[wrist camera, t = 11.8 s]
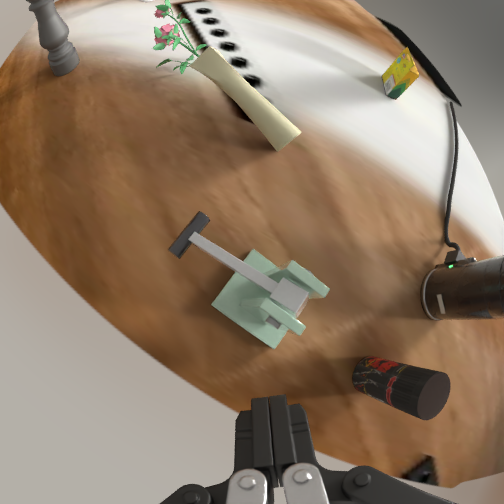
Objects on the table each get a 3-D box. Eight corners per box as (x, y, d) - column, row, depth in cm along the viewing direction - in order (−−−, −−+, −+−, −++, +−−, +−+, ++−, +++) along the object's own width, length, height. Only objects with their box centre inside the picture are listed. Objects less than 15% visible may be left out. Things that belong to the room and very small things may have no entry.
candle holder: (83, 54, 39) (58, -37, 14) (73, 73, 38) (40, -22, 13) (59, 59, 37) (29, -25, 13) (49, 78, 36) (11, -9, 12)
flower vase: (251, 172, 48) (130, 52, 40) (301, 129, 48) (179, 17, 39) (262, 165, 37) (112, 24, 29) (324, 113, 36) (172, -17, 28)
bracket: (210, 304, 36) (217, 306, 22) (251, 250, 38) (279, 221, 25) (272, 348, 36) (311, 371, 23) (308, 293, 38) (362, 288, 25)
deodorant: (347, 391, 37) (410, 421, 22) (358, 354, 38) (426, 371, 24) (377, 392, 38) (441, 418, 23) (386, 358, 39) (455, 372, 24)
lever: (173, 255, 31) (163, 246, 29) (202, 218, 32) (195, 207, 30) (286, 333, 25) (284, 329, 23) (318, 285, 27) (319, 277, 25)
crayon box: (396, 100, 50) (424, 71, 39) (385, 95, 50) (413, 65, 38) (391, 80, 52) (416, 51, 40) (381, 75, 51) (406, 45, 40)
